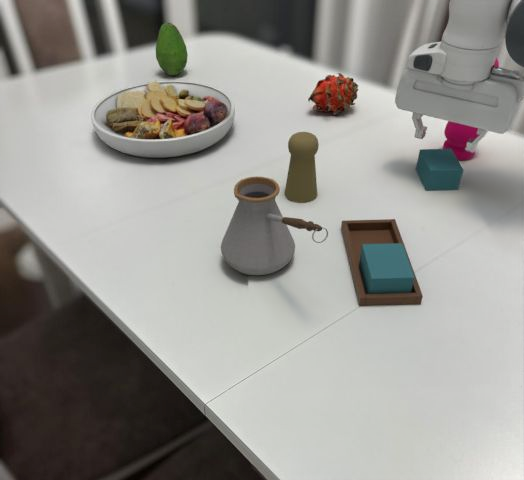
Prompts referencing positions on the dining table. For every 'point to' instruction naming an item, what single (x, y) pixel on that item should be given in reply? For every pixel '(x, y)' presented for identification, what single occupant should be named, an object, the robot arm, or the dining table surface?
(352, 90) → the dragon fruit
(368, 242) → the brown wooden tray
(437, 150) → the loose pad
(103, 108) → the bowl
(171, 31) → the avocado
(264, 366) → the dining table surface
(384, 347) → the dining table surface
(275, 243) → the coffee pot
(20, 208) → the dining table surface
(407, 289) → the teal block
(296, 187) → the olive peg doll
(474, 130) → the pepper mill
